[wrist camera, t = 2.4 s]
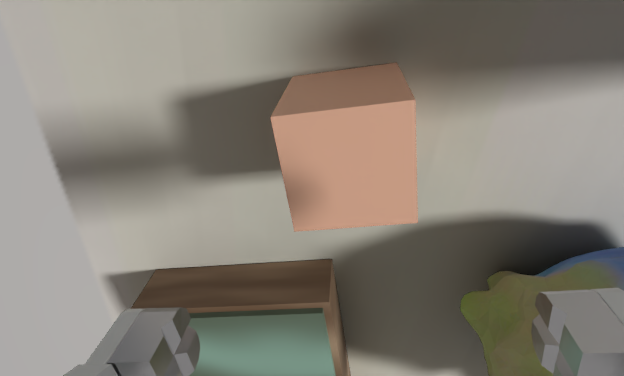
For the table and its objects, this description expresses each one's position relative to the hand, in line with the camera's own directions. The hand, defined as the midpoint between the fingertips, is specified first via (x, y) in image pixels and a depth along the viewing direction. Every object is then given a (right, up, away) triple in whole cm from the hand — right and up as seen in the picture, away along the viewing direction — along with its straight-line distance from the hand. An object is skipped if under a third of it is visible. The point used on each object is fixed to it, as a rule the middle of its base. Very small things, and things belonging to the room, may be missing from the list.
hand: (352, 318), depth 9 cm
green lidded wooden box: (-5, -8, +19) cm, 21 cm away
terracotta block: (+1, +7, +10) cm, 12 cm away
